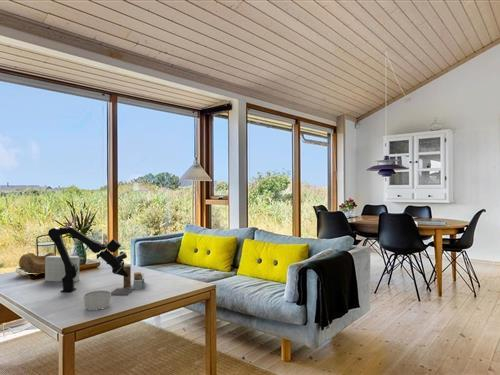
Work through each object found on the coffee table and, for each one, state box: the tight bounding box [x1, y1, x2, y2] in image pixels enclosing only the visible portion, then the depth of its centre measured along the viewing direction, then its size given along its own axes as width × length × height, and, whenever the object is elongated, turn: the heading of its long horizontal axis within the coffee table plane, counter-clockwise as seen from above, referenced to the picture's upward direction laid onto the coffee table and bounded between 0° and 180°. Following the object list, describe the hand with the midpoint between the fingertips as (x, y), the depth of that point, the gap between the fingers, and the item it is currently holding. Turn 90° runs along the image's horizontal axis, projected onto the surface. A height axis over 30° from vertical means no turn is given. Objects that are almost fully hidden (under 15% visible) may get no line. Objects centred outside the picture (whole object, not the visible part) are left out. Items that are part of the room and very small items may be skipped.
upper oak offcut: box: [133, 271, 143, 281], centre depth 227 cm, size 4×4×4 cm
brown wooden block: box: [123, 264, 132, 289], centre depth 225 cm, size 4×6×13 cm
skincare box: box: [44, 255, 80, 283], centre depth 238 cm, size 21×5×16 cm, turn 85°
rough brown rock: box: [18, 251, 57, 273], centre depth 252 cm, size 23×16×15 cm
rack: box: [133, 272, 145, 290], centre depth 227 cm, size 6×14×6 cm, turn 16°
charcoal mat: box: [110, 287, 136, 296], centre depth 213 cm, size 11×11×1 cm
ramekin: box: [83, 289, 112, 311], centre depth 188 cm, size 13×13×7 cm
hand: (128, 274), depth 225 cm, fingers open, 9 cm apart
